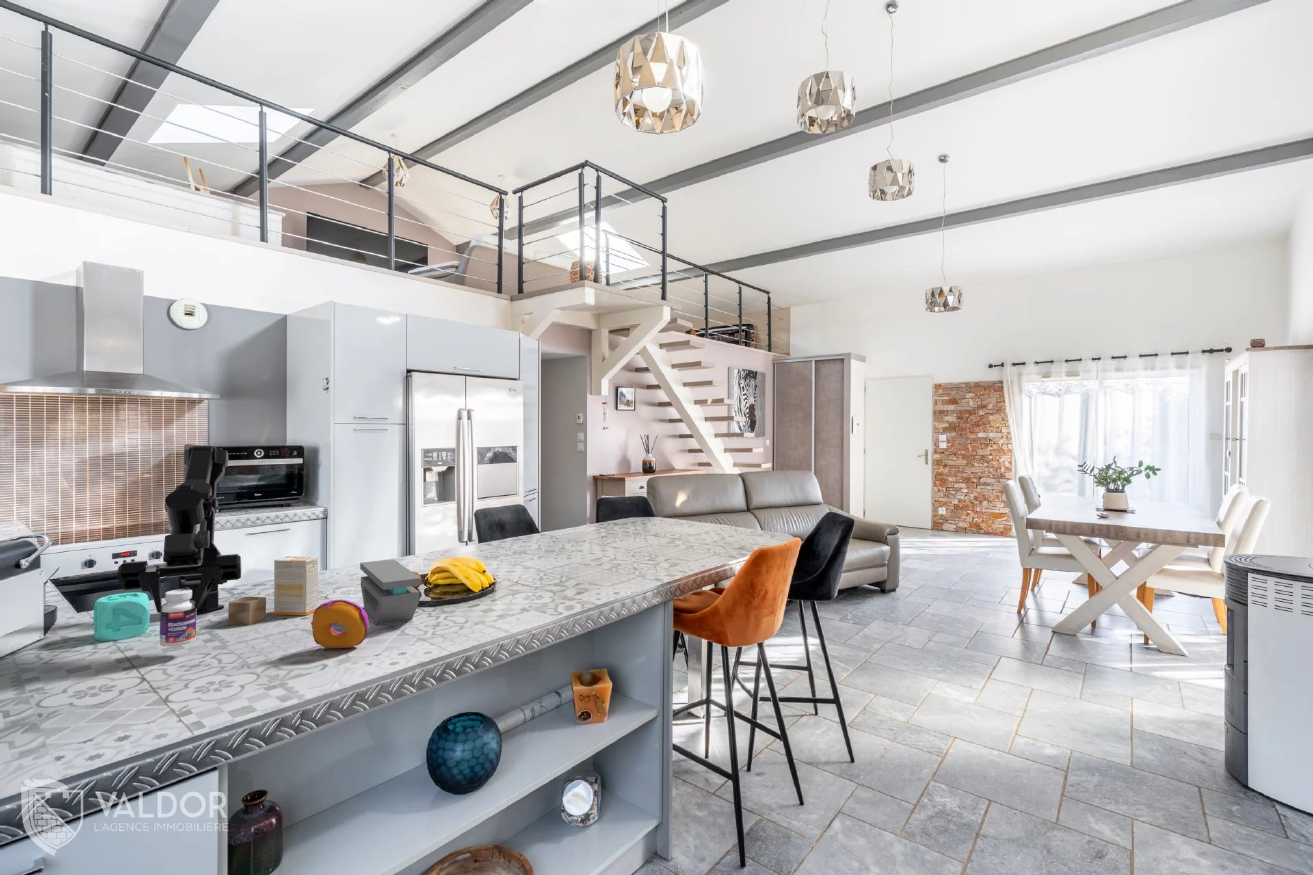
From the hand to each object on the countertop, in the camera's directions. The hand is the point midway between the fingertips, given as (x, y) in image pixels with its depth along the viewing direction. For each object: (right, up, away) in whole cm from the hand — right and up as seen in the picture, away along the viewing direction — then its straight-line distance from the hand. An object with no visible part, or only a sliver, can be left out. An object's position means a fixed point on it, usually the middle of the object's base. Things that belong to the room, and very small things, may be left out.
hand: (177, 609), depth 112 cm
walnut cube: (-3, -9, +23) cm, 25 cm away
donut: (+27, -10, +6) cm, 30 cm away
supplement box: (+4, -10, +30) cm, 32 cm away
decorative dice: (-22, -9, +13) cm, 27 cm away
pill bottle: (-1, -7, +1) cm, 7 cm away
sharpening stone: (+27, -10, +28) cm, 40 cm away
